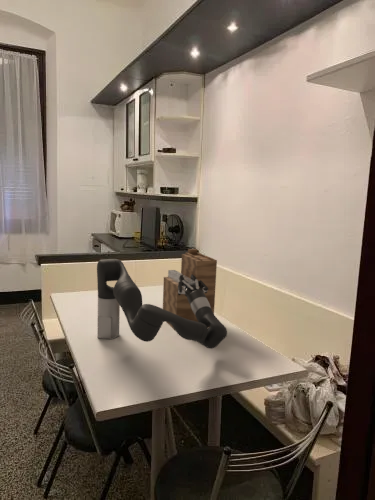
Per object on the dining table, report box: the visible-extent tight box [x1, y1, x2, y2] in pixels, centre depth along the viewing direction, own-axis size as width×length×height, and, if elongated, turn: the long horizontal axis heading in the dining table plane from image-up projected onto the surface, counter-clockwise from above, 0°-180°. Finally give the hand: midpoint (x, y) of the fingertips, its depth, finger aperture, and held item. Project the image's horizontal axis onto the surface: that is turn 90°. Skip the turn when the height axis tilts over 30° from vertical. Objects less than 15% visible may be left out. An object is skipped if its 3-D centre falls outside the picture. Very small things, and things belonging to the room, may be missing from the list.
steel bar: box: [167, 269, 195, 286], centre depth 179 cm, size 24×4×4 cm, turn 23°
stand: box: [162, 248, 218, 331], centre depth 186 cm, size 18×19×34 cm
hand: (186, 276), depth 173 cm, fingers open, 4 cm apart
